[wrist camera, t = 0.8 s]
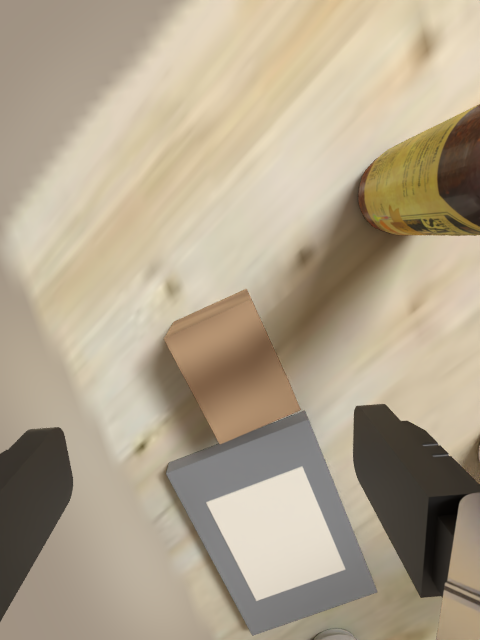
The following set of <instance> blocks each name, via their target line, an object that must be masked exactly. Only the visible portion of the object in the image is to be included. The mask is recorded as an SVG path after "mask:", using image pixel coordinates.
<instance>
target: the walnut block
mask: <svg viewBox="0 0 480 640" xmlns="http://www.w3.org/2000/svg"><path fill="white" fill-rule="evenodd" d="M164 340H165V342H166V344H167V346H168V348H169V350H170V352H171V353H172V355H173V357H174V359H175V361H176V363H177V365H178V367H179V369H180V370H181V372H182V374H183V376H184V378H185V380H186V382H187V384H188V386H189V387H190V389H191V391H192V393H193V395H194V397H195V399H196V401H197V402H198V404H199V406H200V408H201V410H202V412H203V414H204V416H205V418H206V419H207V421H208V423H209V425H210V427H211V429H212V431H213V433H214V434H215V436H216V438H217V440H218V442H219V444H222V443H225V442H227V441H229V440H232V439H234V438H237V437H239V436H241V435H244V434H246V433H248V432H251V431H253V430H255V429H258V428H260V427H262V426H265V425H267V424H269V423H272V422H274V421H276V420H279V419H281V418H283V417H286V416H288V415H290V414H293V413H295V412H297V411H300V410H301V409H300V407H299V405H298V402H297V400H296V397H295V395H294V393H293V390H292V388H291V385H290V383H289V381H288V379H287V376H286V374H285V372H284V370H283V368H282V365H281V363H280V361H279V359H278V357H277V354H276V352H275V350H274V348H273V346H272V343H271V341H270V339H269V337H268V335H267V332H266V330H265V328H264V326H263V324H262V321H261V319H260V317H259V315H258V313H257V310H256V308H255V306H254V304H253V302H252V299H251V297H250V295H249V293H248V291H247V289H245V290H243V291H241V292H238V293H236V294H234V295H232V296H230V297H227V298H225V299H223V300H221V301H219V302H216V303H214V304H212V305H210V306H208V307H205V308H203V309H201V310H199V311H197V312H194V313H192V314H190V315H188V316H186V317H183V318H181V319H179V320H177V321H175V322H173V324H172V326H171V327H170V329H169V331H168V333H167V334H166V336H165V338H164Z"/></svg>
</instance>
